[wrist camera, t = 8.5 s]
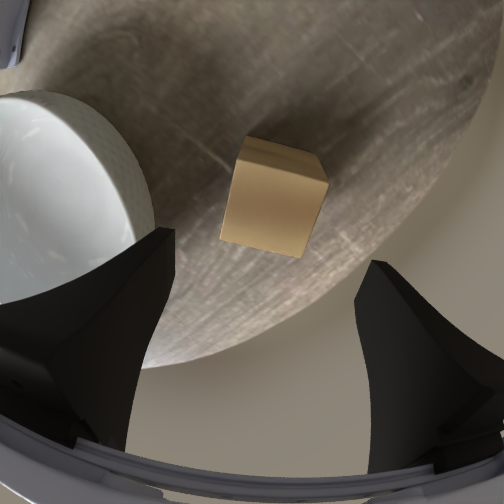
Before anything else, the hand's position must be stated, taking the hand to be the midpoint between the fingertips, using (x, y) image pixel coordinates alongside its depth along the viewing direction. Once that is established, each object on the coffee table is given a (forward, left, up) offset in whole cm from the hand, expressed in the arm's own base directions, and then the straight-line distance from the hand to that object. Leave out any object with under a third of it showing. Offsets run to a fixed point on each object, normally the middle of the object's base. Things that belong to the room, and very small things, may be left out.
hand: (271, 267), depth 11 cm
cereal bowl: (-4, +14, -10) cm, 17 cm away
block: (0, 0, -9) cm, 9 cm away
